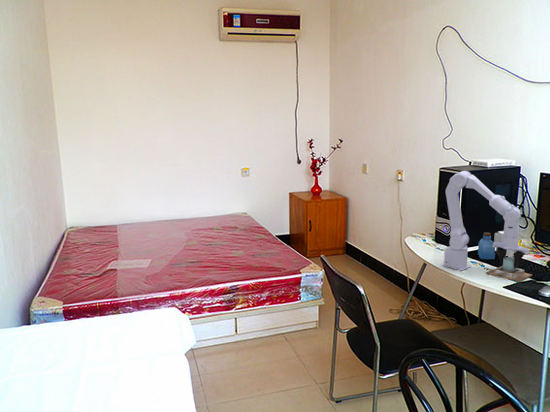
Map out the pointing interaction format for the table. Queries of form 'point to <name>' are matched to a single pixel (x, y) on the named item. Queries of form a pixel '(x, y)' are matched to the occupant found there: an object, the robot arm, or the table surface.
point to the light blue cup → (508, 264)
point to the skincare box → (500, 240)
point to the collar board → (510, 274)
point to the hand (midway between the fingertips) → (509, 266)
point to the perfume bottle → (486, 247)
